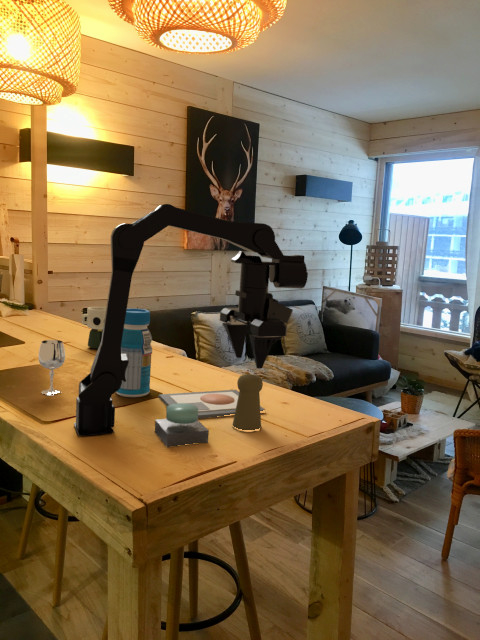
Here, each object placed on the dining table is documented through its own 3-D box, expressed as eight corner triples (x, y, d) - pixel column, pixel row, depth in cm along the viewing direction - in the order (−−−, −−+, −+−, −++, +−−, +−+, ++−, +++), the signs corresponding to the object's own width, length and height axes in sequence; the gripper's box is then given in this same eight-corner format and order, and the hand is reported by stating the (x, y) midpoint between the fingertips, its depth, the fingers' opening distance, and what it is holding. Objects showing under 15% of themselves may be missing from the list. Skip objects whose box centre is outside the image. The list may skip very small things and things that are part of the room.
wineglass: (57, 387, 129) (58, 338, 128) (68, 393, 125) (70, 343, 124) (33, 391, 125) (34, 340, 124) (44, 397, 121) (45, 345, 120)
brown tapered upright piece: (267, 428, 112) (271, 376, 110) (247, 434, 108) (251, 381, 106) (245, 420, 116) (249, 370, 114) (226, 426, 112) (229, 374, 110)
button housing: (167, 447, 98) (167, 434, 98) (154, 431, 105) (155, 419, 105) (207, 443, 102) (208, 430, 101) (193, 428, 109) (194, 416, 108)
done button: (171, 425, 99) (172, 414, 99) (162, 414, 104) (162, 404, 104) (202, 422, 102) (202, 412, 101) (191, 412, 107) (192, 402, 107)
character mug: (84, 351, 169) (85, 310, 167) (77, 346, 174) (78, 306, 172) (117, 349, 175) (119, 309, 173) (109, 344, 180) (111, 306, 178)
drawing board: (180, 420, 113) (180, 415, 113) (158, 397, 127) (158, 393, 127) (265, 413, 121) (265, 408, 121) (235, 392, 136) (236, 388, 136)
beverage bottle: (118, 399, 124) (121, 313, 121) (110, 388, 131) (113, 307, 128) (154, 397, 128) (158, 313, 125) (144, 387, 135) (148, 307, 132)
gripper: (313, 293, 104) (306, 372, 106) (266, 282, 120) (261, 351, 122) (262, 292, 99) (256, 375, 101) (220, 281, 115) (216, 353, 118)
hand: (248, 362), depth 111 cm, fingers open, 9 cm apart
